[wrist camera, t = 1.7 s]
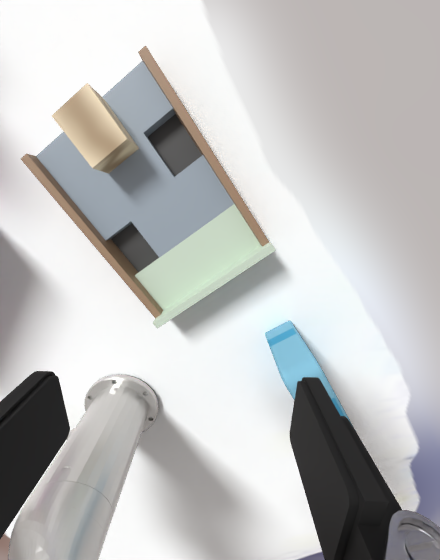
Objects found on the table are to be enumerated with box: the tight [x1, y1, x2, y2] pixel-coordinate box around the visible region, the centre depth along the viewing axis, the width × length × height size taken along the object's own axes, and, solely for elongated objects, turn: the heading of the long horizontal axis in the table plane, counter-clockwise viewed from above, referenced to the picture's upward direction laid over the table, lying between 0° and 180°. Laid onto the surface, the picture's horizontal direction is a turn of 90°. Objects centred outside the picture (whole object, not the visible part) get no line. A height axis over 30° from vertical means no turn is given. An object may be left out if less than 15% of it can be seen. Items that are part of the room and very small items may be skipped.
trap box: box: [21, 46, 276, 328], centre depth 30 cm, size 19×26×5 cm
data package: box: [265, 321, 353, 426], centre depth 34 cm, size 12×4×12 cm, turn 30°
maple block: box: [52, 83, 139, 174], centre depth 27 cm, size 5×6×4 cm
